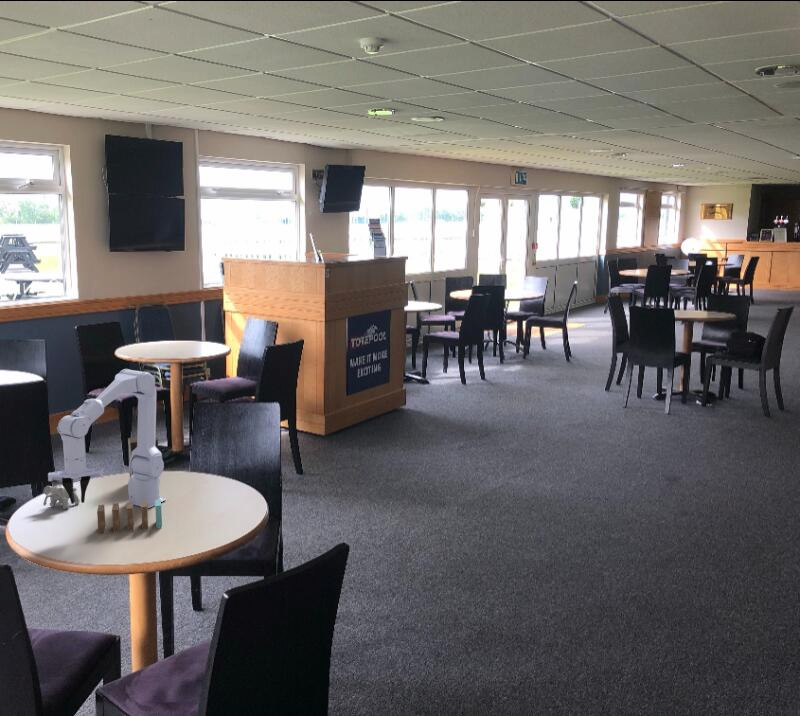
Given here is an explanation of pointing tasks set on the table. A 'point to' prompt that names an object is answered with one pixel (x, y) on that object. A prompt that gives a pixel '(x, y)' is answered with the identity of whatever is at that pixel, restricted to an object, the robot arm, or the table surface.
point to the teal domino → (158, 513)
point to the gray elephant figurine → (59, 496)
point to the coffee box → (133, 444)
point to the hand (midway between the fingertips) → (78, 501)
